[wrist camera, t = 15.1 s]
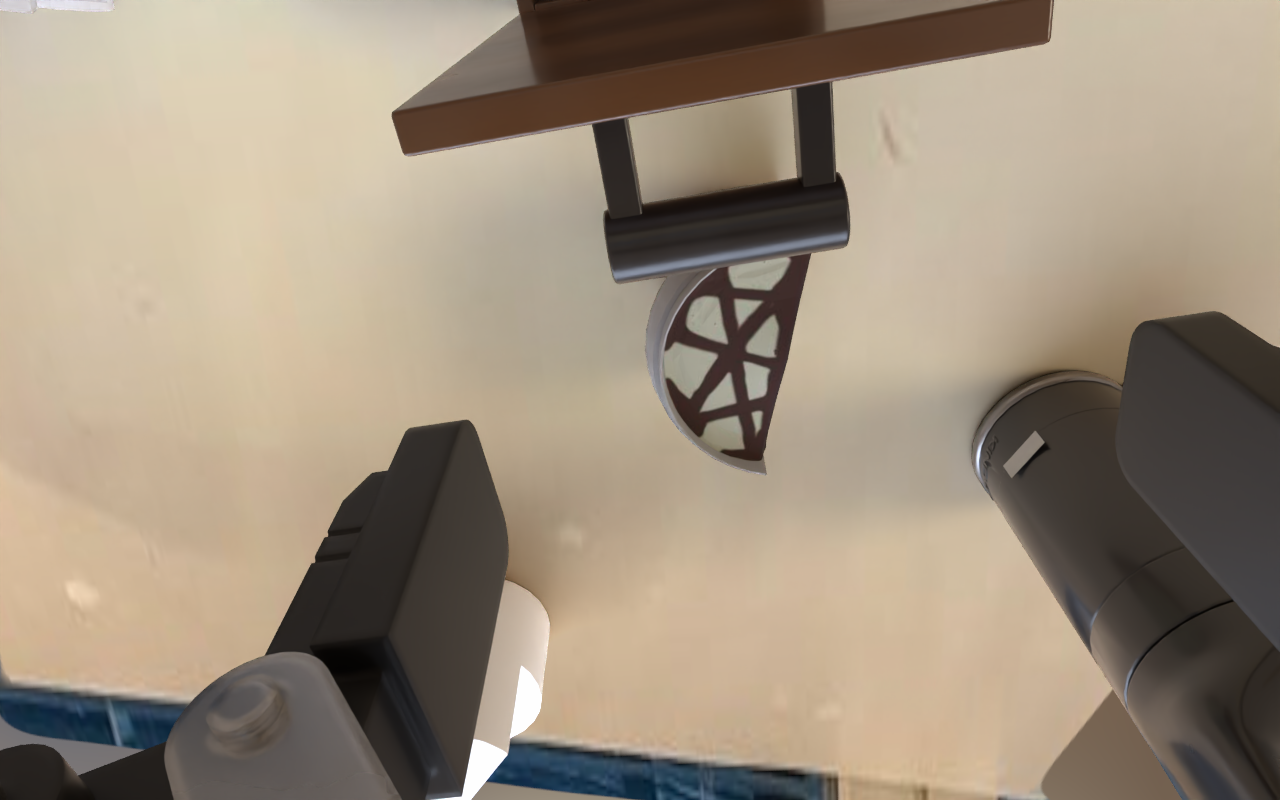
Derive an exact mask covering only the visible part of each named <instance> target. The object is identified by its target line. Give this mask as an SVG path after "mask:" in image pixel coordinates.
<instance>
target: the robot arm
mask: <svg viewBox="0 0 1280 800" xmlns="http://www.w3.org/2000/svg"><path fill="white" fill-rule="evenodd" d="M972 463H973V468H974V471H975V473H976V476H977V477H978V479H979V481H980V482H981V484H982V486H983V487H984V489H985V490H986V491H987V493H988V494H989V495H990V496H991V498H992V500H994V501H995V503H996V504H997V506H998V508H999V509H1000V511H1001V512H1002V514H1003V516H1004V517H1005V519H1006V521H1007V522H1008V524H1009V525H1010V527H1011V529H1012V530H1013V532H1014V533H1015V535H1016V536H1017V538H1018V540H1019V541H1020V543H1021V544H1022V546H1023V548H1024V549H1025V551H1026V552H1027V554H1028V555H1029V557H1030V559H1031V560H1032V562H1033V563H1034V565H1035V567H1036V568H1037V570H1038V571H1039V573H1040V574H1041V576H1042V578H1043V579H1044V581H1045V582H1046V584H1047V586H1048V587H1049V589H1050V590H1051V592H1052V593H1053V595H1054V597H1055V598H1056V600H1057V601H1058V603H1059V605H1060V606H1061V608H1062V609H1063V611H1064V613H1065V614H1066V616H1067V617H1068V619H1069V620H1070V622H1071V624H1072V625H1073V627H1074V628H1075V630H1076V632H1077V633H1078V635H1079V636H1080V638H1081V639H1082V641H1083V643H1084V644H1085V646H1086V647H1087V649H1088V651H1089V652H1090V654H1091V655H1092V657H1093V658H1094V660H1095V662H1096V663H1097V665H1098V666H1099V668H1100V669H1101V671H1102V672H1103V674H1104V676H1105V677H1106V679H1107V680H1108V682H1109V683H1110V685H1111V687H1112V688H1113V690H1114V691H1115V693H1116V694H1117V696H1118V698H1119V699H1120V701H1121V702H1122V704H1123V706H1124V707H1125V709H1126V710H1127V712H1128V714H1129V715H1130V717H1131V718H1132V720H1133V722H1134V723H1135V724H1136V726H1137V728H1138V729H1139V731H1140V732H1141V734H1142V735H1143V737H1144V739H1145V740H1146V742H1147V743H1148V745H1149V746H1150V748H1151V750H1152V751H1153V753H1154V754H1155V756H1156V758H1157V759H1158V761H1159V762H1160V764H1161V766H1162V767H1163V769H1164V771H1165V772H1166V774H1167V775H1168V777H1169V779H1170V780H1171V782H1172V784H1173V785H1174V787H1175V789H1176V790H1177V792H1178V793H1179V795H1180V797H1181V798H1182V800H1280V348H1278V347H1276V346H1273V345H1271V344H1269V343H1268V342H1266V341H1265V340H1263V339H1261V338H1260V337H1258V336H1257V335H1255V334H1254V333H1252V332H1251V331H1249V330H1248V329H1246V328H1245V327H1243V326H1242V325H1240V324H1239V323H1237V322H1235V321H1234V320H1232V319H1231V318H1229V317H1228V316H1226V315H1224V314H1222V313H1220V312H1216V311H1213V312H1204V313H1197V314H1190V315H1184V316H1177V317H1170V318H1163V319H1157V320H1150V321H1145V322H1143V323H1141V324H1140V325H1139V326H1138V327H1137V328H1136V329H1135V331H1134V333H1133V335H1132V338H1131V341H1130V346H1129V352H1128V358H1127V365H1126V371H1125V377H1124V383H1123V386H1120V385H1119V384H1118V383H1116V382H1115V381H1113V380H1111V379H1109V378H1108V377H1105V376H1103V375H1100V374H1096V373H1092V372H1085V371H1066V372H1058V373H1053V374H1049V375H1045V376H1042V377H1039V378H1036V379H1034V380H1032V381H1029V382H1027V383H1025V384H1023V385H1021V386H1020V387H1018V388H1016V389H1015V390H1013V391H1012V392H1010V393H1009V394H1007V395H1006V396H1005V397H1004V398H1002V399H1001V400H1000V401H999V402H998V403H997V404H996V405H995V406H994V407H993V408H992V409H991V410H990V411H989V413H988V414H987V415H986V417H985V418H984V419H983V421H982V423H981V424H980V426H979V428H978V430H977V433H976V435H975V438H974V442H973V446H972ZM508 551H509V550H508V535H507V528H506V523H505V518H504V515H503V511H502V508H501V505H500V502H499V499H498V496H497V493H496V490H495V486H494V483H493V480H492V477H491V474H490V471H489V468H488V465H487V461H486V458H485V455H484V452H483V449H482V446H481V443H480V440H479V437H478V434H477V431H476V429H475V427H474V426H473V424H472V423H471V422H470V421H469V420H461V421H454V422H447V423H440V424H434V425H427V426H420V427H413V428H409V429H408V430H407V431H406V432H405V434H404V436H403V438H402V441H401V443H400V445H399V447H398V449H397V452H396V454H395V456H394V458H393V461H392V463H391V465H390V467H389V469H388V471H382V472H375V473H372V474H370V475H369V476H368V477H367V478H366V479H365V480H364V481H363V482H362V483H361V484H360V485H359V486H358V487H357V488H356V489H355V490H354V491H353V492H352V493H351V494H350V495H349V496H348V497H347V498H346V499H345V500H344V501H343V502H342V504H341V506H340V508H339V510H338V512H337V514H336V516H335V518H334V520H333V522H332V524H331V526H330V528H329V530H328V537H325V538H324V540H323V542H322V543H321V545H320V547H319V549H318V551H317V553H316V555H315V563H312V564H311V565H310V567H309V569H308V571H307V573H306V575H305V577H304V579H303V581H302V583H301V585H300V587H299V589H298V591H297V593H296V595H295V597H294V599H293V601H292V603H291V605H290V607H289V609H288V611H287V613H286V615H285V617H284V619H283V621H282V623H281V625H280V627H279V629H278V631H277V632H276V634H275V636H274V638H273V640H272V642H271V644H270V646H269V648H268V650H267V652H266V654H265V656H263V657H259V658H257V659H254V660H251V661H249V662H246V663H244V664H242V665H240V666H238V667H236V668H234V669H232V670H231V671H229V672H228V673H226V674H224V675H223V676H221V677H220V678H218V679H217V680H216V681H214V682H213V683H212V684H210V685H209V686H208V687H206V688H205V689H204V690H203V691H202V692H201V693H200V694H199V695H198V696H197V697H195V698H194V700H193V701H192V702H191V703H190V704H189V705H188V706H187V707H186V709H185V710H184V711H183V713H182V714H181V715H180V717H179V718H178V720H177V721H176V723H175V725H174V726H173V728H172V730H171V732H170V734H169V737H168V740H167V742H164V743H162V744H159V745H157V746H154V747H151V748H149V749H146V750H144V751H141V752H138V753H136V754H133V755H130V756H128V757H125V758H123V759H120V760H117V761H115V762H112V763H110V764H107V765H104V766H102V767H99V768H97V769H94V770H91V771H89V772H86V773H84V774H81V775H77V774H76V772H75V771H74V770H73V769H72V768H71V767H70V766H69V764H68V763H67V762H66V761H65V759H64V758H63V757H62V756H61V755H60V754H59V753H58V752H57V751H56V750H55V749H53V748H51V747H48V746H46V745H39V744H28V745H19V746H15V747H11V748H7V749H4V750H1V751H0V800H436V799H445V798H454V797H462V794H463V789H464V784H465V779H466V774H467V769H468V764H469V759H470V754H471V749H472V744H473V738H474V733H475V728H476V723H477V718H478V713H479V708H480V703H481V698H482V693H483V688H484V682H485V677H486V672H487V667H488V662H489V657H490V652H491V647H492V642H493V637H494V632H495V627H496V621H497V616H498V611H499V606H500V601H501V596H502V591H503V586H504V581H505V576H506V571H507V565H508Z"/></svg>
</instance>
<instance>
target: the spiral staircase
mask: <svg viewBox="0 0 1280 800" xmlns="http://www.w3.org/2000/svg"><path fill="white" fill-rule="evenodd" d="M39 8H49V9H59V10H72V11H90V12H105V11H113V10H115V9H114V1H113V0H0V10H4V11H12V12H21V13H30V14H32V13H33V12H35V11H36V10H37V9H39Z"/></svg>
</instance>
